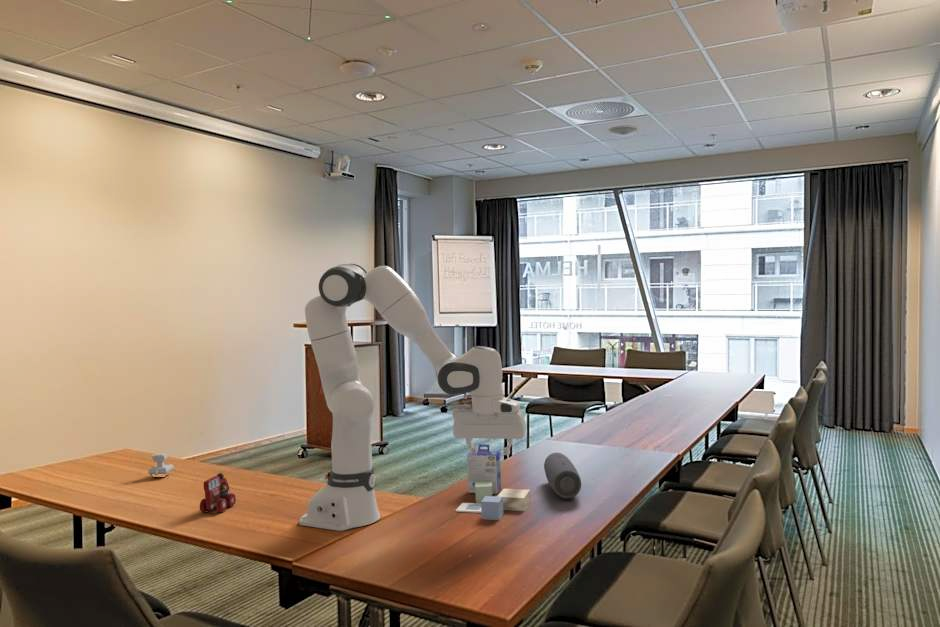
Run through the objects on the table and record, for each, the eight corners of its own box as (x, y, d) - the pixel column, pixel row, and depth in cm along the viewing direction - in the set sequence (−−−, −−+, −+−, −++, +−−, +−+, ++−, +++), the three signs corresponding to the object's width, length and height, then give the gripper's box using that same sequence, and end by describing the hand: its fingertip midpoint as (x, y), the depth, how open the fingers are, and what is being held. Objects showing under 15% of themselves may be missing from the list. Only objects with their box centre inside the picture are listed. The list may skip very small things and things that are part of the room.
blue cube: (481, 519, 177) (481, 501, 177) (486, 513, 182) (485, 495, 182) (499, 520, 176) (498, 502, 176) (503, 514, 181) (502, 496, 181)
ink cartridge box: (502, 489, 205) (500, 443, 205) (498, 494, 200) (496, 447, 199) (472, 488, 207) (470, 443, 207) (467, 493, 202) (465, 447, 202)
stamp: (165, 479, 236) (164, 456, 236) (146, 480, 235) (145, 457, 235) (175, 473, 245) (174, 450, 245) (157, 474, 244) (156, 451, 244)
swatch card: (455, 511, 185) (455, 509, 185) (462, 504, 191) (462, 502, 191) (486, 513, 182) (486, 511, 182) (492, 505, 189) (491, 503, 189)
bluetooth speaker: (584, 502, 189) (583, 467, 188) (552, 503, 189) (551, 469, 188) (571, 480, 211) (570, 450, 211) (543, 481, 211) (541, 451, 211)
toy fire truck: (239, 502, 203) (237, 469, 203) (218, 516, 191) (216, 481, 190) (218, 502, 204) (217, 470, 204) (196, 515, 192) (194, 481, 191)
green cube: (475, 503, 192) (475, 486, 192) (476, 498, 197) (475, 482, 197) (492, 502, 192) (492, 486, 192) (492, 497, 197) (491, 481, 197)
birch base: (497, 510, 185) (496, 496, 185) (504, 501, 193) (503, 488, 193) (524, 512, 183) (524, 498, 183) (530, 503, 190) (530, 489, 190)
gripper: (448, 406, 179) (451, 456, 179) (521, 406, 173) (523, 457, 173) (455, 402, 185) (457, 450, 185) (525, 402, 179) (528, 452, 179)
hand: (490, 454), depth 179 cm, fingers open, 8 cm apart
